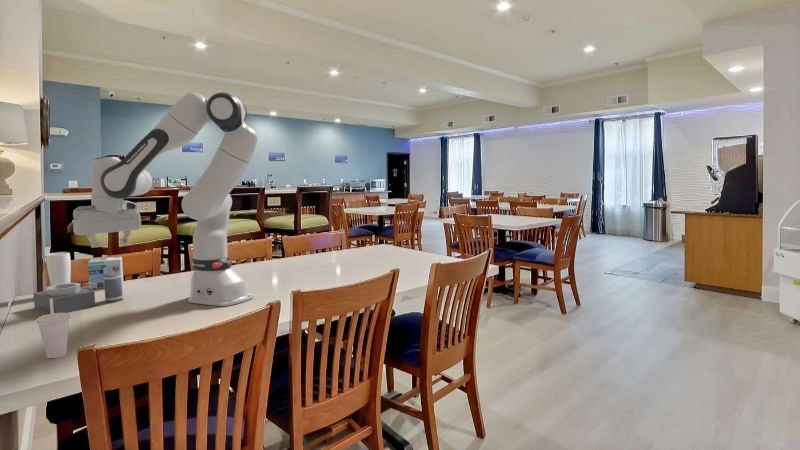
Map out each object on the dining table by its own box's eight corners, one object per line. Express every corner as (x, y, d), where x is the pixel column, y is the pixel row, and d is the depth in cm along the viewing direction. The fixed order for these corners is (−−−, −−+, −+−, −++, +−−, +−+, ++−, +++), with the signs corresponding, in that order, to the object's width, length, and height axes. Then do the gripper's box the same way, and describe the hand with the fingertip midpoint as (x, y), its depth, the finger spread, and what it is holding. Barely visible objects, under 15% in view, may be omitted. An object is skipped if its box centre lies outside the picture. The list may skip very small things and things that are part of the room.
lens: (126, 299, 151) (124, 274, 150) (110, 303, 147) (108, 277, 146) (117, 297, 153) (115, 272, 152) (102, 301, 149) (100, 275, 148)
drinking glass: (60, 297, 153) (56, 255, 151) (44, 296, 154) (40, 255, 152) (77, 292, 159) (74, 252, 158) (62, 291, 161) (59, 251, 159)
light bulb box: (89, 289, 164) (86, 261, 163) (91, 285, 170) (89, 258, 169) (122, 286, 169) (120, 259, 168) (124, 282, 175) (122, 256, 174)
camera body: (95, 305, 144) (93, 285, 143) (56, 314, 134) (55, 292, 133) (73, 299, 150) (71, 280, 149) (34, 308, 141) (32, 287, 140)
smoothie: (67, 348, 109) (63, 293, 107) (77, 354, 105) (73, 298, 103) (35, 356, 103) (30, 299, 102) (44, 363, 100) (39, 304, 98)
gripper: (78, 207, 136) (80, 250, 137) (142, 204, 154) (144, 242, 155) (67, 206, 139) (70, 248, 140) (132, 203, 157) (134, 241, 158)
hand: (109, 245), depth 148 cm, fingers open, 8 cm apart
